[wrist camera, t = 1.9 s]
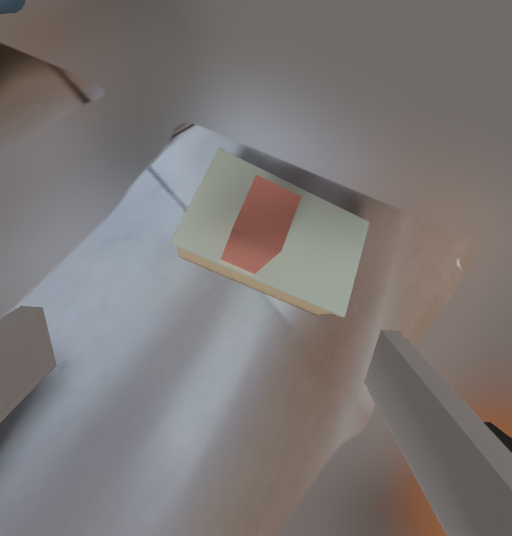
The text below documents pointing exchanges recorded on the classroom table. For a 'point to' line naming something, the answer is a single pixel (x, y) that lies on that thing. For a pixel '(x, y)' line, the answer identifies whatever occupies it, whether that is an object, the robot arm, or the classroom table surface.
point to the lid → (274, 233)
